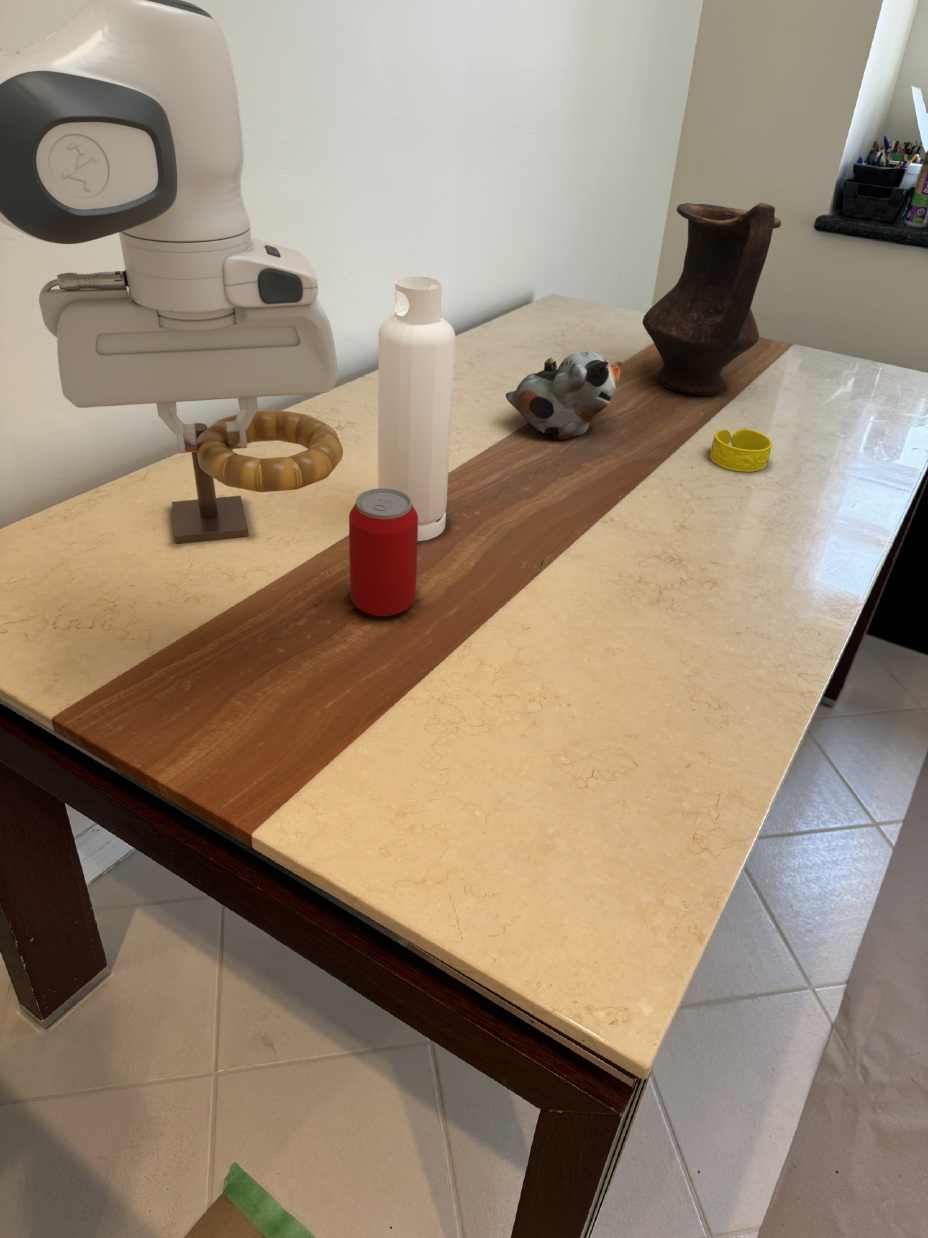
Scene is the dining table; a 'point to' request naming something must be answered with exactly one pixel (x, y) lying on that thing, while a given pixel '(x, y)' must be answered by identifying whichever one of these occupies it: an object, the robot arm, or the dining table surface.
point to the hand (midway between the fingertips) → (213, 447)
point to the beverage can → (383, 552)
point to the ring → (271, 471)
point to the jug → (711, 296)
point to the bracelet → (740, 450)
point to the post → (208, 510)
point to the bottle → (416, 400)
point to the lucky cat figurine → (566, 394)
